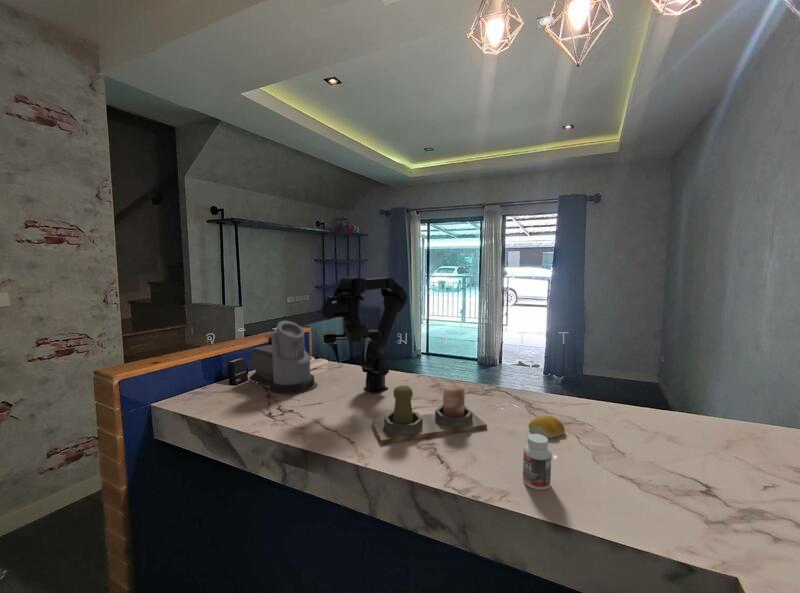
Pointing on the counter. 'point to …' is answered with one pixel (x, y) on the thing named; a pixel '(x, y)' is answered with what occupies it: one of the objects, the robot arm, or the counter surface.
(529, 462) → the pill bottle
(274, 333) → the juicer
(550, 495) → the counter surface
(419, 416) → the rail
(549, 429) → the bread roll
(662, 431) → the counter surface
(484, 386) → the counter surface
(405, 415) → the olive green peg
